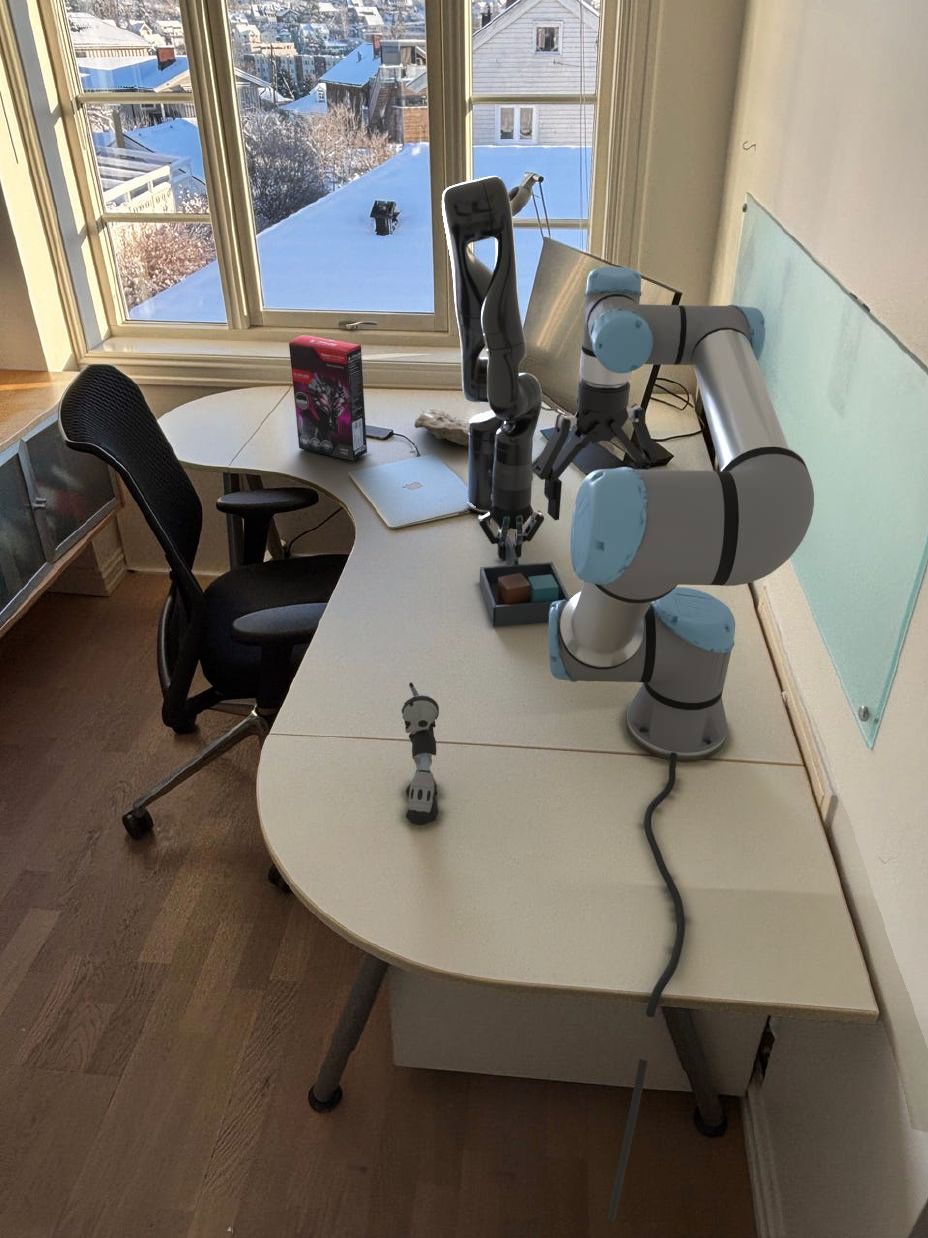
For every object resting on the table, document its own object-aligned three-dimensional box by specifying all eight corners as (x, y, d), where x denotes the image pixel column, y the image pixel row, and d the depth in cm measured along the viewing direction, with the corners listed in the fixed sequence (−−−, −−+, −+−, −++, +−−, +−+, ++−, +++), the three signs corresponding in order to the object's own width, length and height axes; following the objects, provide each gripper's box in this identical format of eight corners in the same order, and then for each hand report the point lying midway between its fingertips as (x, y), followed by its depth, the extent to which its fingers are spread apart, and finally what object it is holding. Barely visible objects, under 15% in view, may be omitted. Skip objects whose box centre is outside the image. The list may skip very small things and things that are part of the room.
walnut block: (529, 612, 169) (530, 584, 166) (506, 617, 168) (507, 589, 165) (519, 600, 173) (520, 572, 170) (497, 604, 172) (498, 577, 168)
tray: (569, 620, 168) (571, 597, 166) (492, 626, 167) (493, 603, 164) (539, 554, 188) (541, 533, 186) (471, 559, 186) (471, 537, 184)
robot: (441, 856, 121) (440, 742, 110) (404, 858, 121) (400, 743, 110) (437, 755, 138) (436, 646, 127) (405, 756, 137) (401, 647, 126)
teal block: (556, 614, 169) (558, 586, 166) (532, 617, 168) (534, 589, 165) (549, 601, 173) (551, 574, 169) (526, 604, 172) (527, 576, 168)
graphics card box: (296, 449, 231) (285, 340, 216) (313, 439, 236) (303, 333, 221) (353, 463, 224) (346, 352, 209) (369, 453, 229) (363, 343, 214)
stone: (398, 433, 232) (403, 409, 229) (417, 425, 245) (422, 402, 243) (477, 457, 228) (483, 433, 226) (491, 447, 242) (497, 425, 239)
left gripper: (543, 469, 179) (538, 547, 189) (473, 474, 177) (471, 552, 187) (552, 486, 173) (547, 565, 183) (480, 491, 171) (478, 571, 181)
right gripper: (666, 363, 141) (649, 488, 153) (516, 380, 134) (510, 511, 146) (692, 379, 135) (673, 508, 147) (536, 398, 128) (529, 532, 140)
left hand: (509, 558), depth 185 cm, fingers closed
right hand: (592, 510), depth 147 cm, fingers open, 13 cm apart
